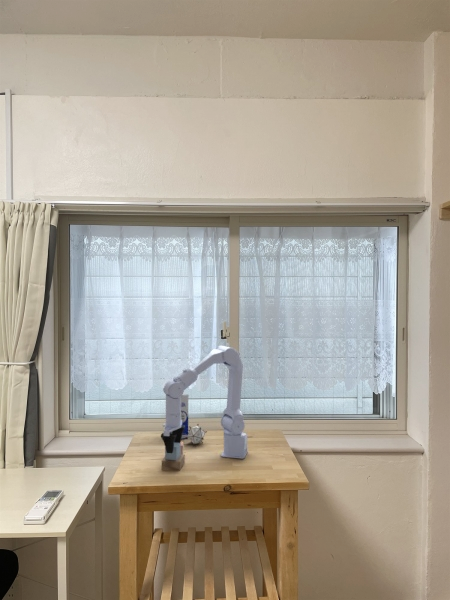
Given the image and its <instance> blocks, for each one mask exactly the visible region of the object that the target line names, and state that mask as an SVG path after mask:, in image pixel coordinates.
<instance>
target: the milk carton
mask: <svg viewBox="0 0 450 600" xmlns="http://www.w3.org/2000/svg"><path fill="white" fill-rule="evenodd" d="M181 420H182V425H181V426H185V429H184V431H183V434H182V437H181V440H186V439H188V438H185V437H187V435H188V433H189V394H183V395H182V396H181ZM188 440H189V439H188Z"/></svg>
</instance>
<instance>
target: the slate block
mask: <svg viewBox="0 0 450 600" xmlns="http://www.w3.org/2000/svg"><path fill="white" fill-rule="evenodd" d="M180 456H181V443H176V442H174V448H173V453H167V452H166V448H165V447H164V457H165V459H167V460H177V459H178V458H179V457H180Z"/></svg>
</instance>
